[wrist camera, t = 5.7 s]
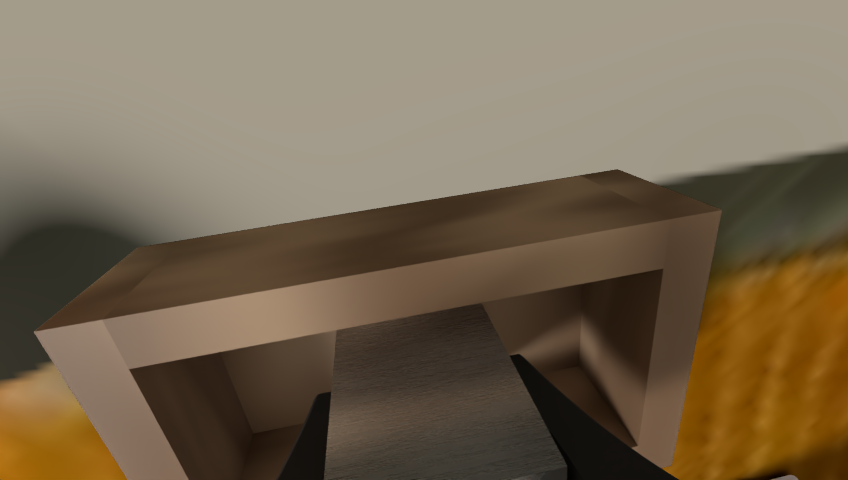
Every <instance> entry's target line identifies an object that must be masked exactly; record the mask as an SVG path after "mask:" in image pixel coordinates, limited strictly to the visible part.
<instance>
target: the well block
mask: <svg viewBox="0 0 848 480" xmlns="http://www.w3.org/2000/svg"><path fill="white" fill-rule="evenodd" d="M721 213H722V210H721V209H718V208H715V207H713V206H710V205H708V204H705V203H703V202H700V201H698V200H695V199H692V198H690V197H687V196H685V195H682V194H680V193H677V192H674V191H672V190H669V189H667V188H664V187H662V186H659V185H656V184H654V183H651V182H649V181H646V180H643V179H641V178H638V177H636V176H633V175H631V174H628V173H625V172H623V171H620V170H611V171H604V172H598V173H592V174H586V175H580V176H574V177H567V178H562V179H556V180H549V181H543V182H537V183H531V184H524V185H518V186H512V187H506V188H500V189H494V190H488V191H482V192H475V193H469V194H463V195H457V196H451V197H445V198H439V199H432V200H426V201H420V202H414V203H408V204H402V205H396V206H389V207H383V208H377V209H371V210H365V211H359V212H353V213H346V214H340V215H334V216H328V217H323V218H316V219H310V220H303V221H297V222H292V223H285V224H279V225H273V226H267V227H261V228H254V229H248V230H242V231H236V232H230V233H224V234H218V235H211V236H205V237H199V238H193V239H187V240H181V241H175V242H169V243H163V244H156V245H150V246H144V247H138V248H137V249H135V250H134V251H133V252H132V253H130V254H129V255H128V256H127V257H125V258H124V259H123V260H122V261H120V262H119V263H118V264H117V265H116V266H114V267H113V268H112V269H111V270H109V271H108V272H107V273H106V274H104V275H103V276H102V277H101V278H100V279H98V280H97V281H96V282H95V283H93V284H92V285H91V286H90V287H88V288H87V289H86V290H85V291H83V292H82V293H81V294H80V295H79V296H78V297H76V298H75V299H74V300H72V301H71V302H70V303H69V304H67V306H65V307H64V308H63V309H61V310H60V311H59V312H58V313H56V314H55V315H54V316H53V317H51V318H50V319H49V320H48V321H47V322H45V323H44V324H43V325H42V326H40V327H39V328H38V329H37V330H35V331H34V333H35V335H36V336H37V338H38V339H39V341H40V342H41V344H42V345H43V347H44V349H45V350H46V352H47V353H48V355H49V357H50V358H51V360H52V361H53V363H54V364H55V366H56V368H57V369H58V371H59V372H60V374H61V375H62V377H63V379H64V380H65V382H66V383H67V385H68V386H69V388H70V390H71V391H72V393H73V394H74V396H75V397H76V399H77V401H78V402H79V404H80V405H81V407H82V408H83V410H84V412H85V413H86V415H87V416H88V418H89V419H90V421H91V423H92V424H93V426H94V427H95V429H96V430H97V432H98V434H99V435H100V437H101V438H102V440H103V441H104V443H105V445H106V446H107V448H108V449H109V451H110V452H111V454H112V456H113V457H114V459H115V460H116V462H117V463H118V465H119V467H120V468H121V470H122V471H123V473H124V474H125V476H126V478H127V479H128V480H276V479H277V477H278V475H279V473H280V471H281V469H282V467H283V465H284V463H285V461H286V459H287V457H288V455H289V453H290V451H291V450H292V448H293V446H294V443H295V441H296V439H297V437H298V435H299V433H300V431H301V429H302V426H303V424H304V422H305V420H306V418H307V415H308V413H309V411H310V408H311V406H312V403H313V401H314V399H315V397H316V396H317V395H318V394H321V393H326V392H331V390H332V378H333V367H334V355H335V343H336V331H337V330H340V329H345V328H350V327H355V326H361V325H366V324H371V323H377V322H382V321H387V320H393V319H398V318H403V317H409V316H414V315H419V314H425V313H430V312H435V311H440V310H446V309H451V308H456V307H462V306H467V305H472V304H478V303H482V305H483V307H484V309H485V311H486V313H487V314H488V316H489V318H490V320H491V322H492V324H493V326H494V328H495V330H496V332H497V333H498V335H499V337H500V339H501V341H502V343H503V345H504V347H505V349H506V351H507V353H508V354H509V356H510V355H515V354H520V355H522V356H523V357H524V358H525V359H526V360H527V361H528V362H529V363H530V364H532V365H533V366H534V367H535V368H536V369H537V370H538V371H539V372H540V373H541V374H542V375H543V376H544V377H545V378H546V379H547V380H549V381H550V382H551V383H552V384H553V385H554V386H555V387H556V388H557V389H558V390H560V391H561V392H562V393H563V394H564V395H565V396H566V397H568V398H569V399H570V400H571V401H572V402H574V403H575V404H576V405H577V406H578V407H579V408H581V409H582V410H583V411H584V412H585V413H587V414H588V415H589V416H590V417H592V418H593V419H594V420H595V421H597V422H598V423H599V424H600V425H602V426H603V427H604V428H605V429H607V430H608V431H609V432H611V433H612V434H613V435H615V436H616V437H617V438H619V439H620V440H621V441H623V442H624V443H625V444H627V445H628V446H629V447H631V448H632V449H634V450H635V451H636V452H638V453H639V454H641V455H642V456H644V457H645V458H646V459H648V460H649V461H651V462H652V463H654V464H655V465H657V466H658V467H660V468H663V467H667V466H671V465H672V461H673V456H674V451H675V446H676V441H677V436H678V431H679V426H680V420H681V415H682V410H683V405H684V400H685V395H686V390H687V385H688V380H689V375H690V370H691V365H692V360H693V355H694V350H695V345H696V340H697V335H698V329H699V324H700V319H701V314H702V309H703V304H704V299H705V294H706V289H707V284H708V279H709V274H710V269H711V264H712V259H713V254H714V249H715V244H716V238H717V233H718V228H719V223H720V218H721Z"/></svg>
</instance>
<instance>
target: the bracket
mask: <svg viewBox="0 0 848 480" xmlns="http://www.w3.org/2000/svg"><path fill="white" fill-rule="evenodd" d="M324 480H567V465H566V463H565V461H564V459H563V457H562V455H561V453H560V451H559V450H558V448H557V446H556V444H555V442H554V440H553V438H552V436H551V434H550V432H549V431H548V429H547V427H546V425H545V423H544V421H543V419H542V417H541V415H540V413H539V412H538V410H537V408H536V406H535V404H534V402H533V400H532V398H531V396H530V394H529V392H528V391H527V389H526V387H525V385H524V383H523V381H522V379H521V377H520V375H519V373H518V372H517V370H516V368H515V366H514V364H513V362H512V360H511V358H510V356H509V354H508V353H507V351H506V349H505V347H504V345H503V343H502V341H501V339H500V337H499V335H498V333H497V332H496V330H495V328H494V326H493V324H492V322H491V320H490V318H489V316H488V314H487V313H486V311H485V309H484V307H483V305H482V303H478V304H472V305H467V306H462V307H456V308H451V309H446V310H440V311H435V312H430V313H425V314H419V315H414V316H409V317H403V318H398V319H393V320H387V321H382V322H377V323H371V324H366V325H361V326H355V327H350V328H345V329H340V330H337V331H336V343H335V355H334V367H333V378H332V390H331V402H330V414H329V425H328V437H327V449H326V461H325V473H324Z"/></svg>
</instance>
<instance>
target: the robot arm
mask: <svg viewBox="0 0 848 480" xmlns="http://www.w3.org/2000/svg"><path fill="white" fill-rule="evenodd" d="M510 358H511V360H512V362H513V364H514V366H515V368H516V370H517V372H518V373H519V375H520V377H521V379H522V381H523V383H524V385H525V387H526V389H527V391H528V392H529V394H530V396H531V398H532V400H533V402H534V404H535V406H536V408H537V410H538V412H539V413H540V415H541V417H542V419H543V421H544V423H545V425H546V427H547V429H548V431H549V432H550V434H551V436H552V438H553V440H554V442H555V444H556V446H557V448H558V450H559V451H560V453H561V455H562V457H563V459H564V461H565V463H566V465H567V480H678V479H677V478H675V477H674V476H672V475H671V474H669V473H667V472H666V471H664V470H663V469H661V468H660V467H658V466H657V465H655V464H654V463H652V462H651V461H649V460H648V459H646V458H645V457H644V456H642V455H641V454H639V453H638V452H636V451H635V450H634V449H632V448H631V447H629V446H628V445H627V444H625V443H624V442H623V441H621V440H620V439H619V438H617V437H616V436H615V435H613V434H612V433H611V432H609V431H608V430H607V429H605V428H604V427H603V426H602V425H600V424H599V423H598V422H597V421H595V420H594V419H593V418H592V417H590V416H589V415H588V414H587V413H585V412H584V411H583V410H582V409H581V408H579V407H578V406H577V405H576V404H575V403H574V402H572V401H571V400H570V399H569V398H568V397H566V396H565V395H564V394H563V393H562V392H561V391H560V390H558V389H557V388H556V387H555V386H554V385H553V384H552V383H551V382H550V381H549V380H547V379H546V378H545V377H544V376H543V375H542V374H541V373H540V372H539V371H538V370H537V369H536V368H535V367H534V366H533V365H532V364H530V363H529V362H528V361H527V360H526V359H525V358H524V357H523V356H522V355H520V354H515V355H510ZM330 402H331V392H326V393H321V394H318V395H317V396H316V397H315V399H314V401H313V403H312V406H311V408H310V411H309V413H308V415H307V418H306V420H305V422H304V424H303V426H302V429H301V431H300V433H299V435H298V437H297V439H296V441H295V443H294V446H293V448H292V450H291V451H290V453H289V455H288V457H287V459H286V461H285V463H284V465H283V467H282V469H281V471H280V473H279V475H278V477H277V479H276V480H324V473H325V461H326V449H327V437H328V425H329V414H330ZM771 480H799V479H798V478H797V477H795V476H794V475H787V476H783V477H779V478H775V479H771Z"/></svg>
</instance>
